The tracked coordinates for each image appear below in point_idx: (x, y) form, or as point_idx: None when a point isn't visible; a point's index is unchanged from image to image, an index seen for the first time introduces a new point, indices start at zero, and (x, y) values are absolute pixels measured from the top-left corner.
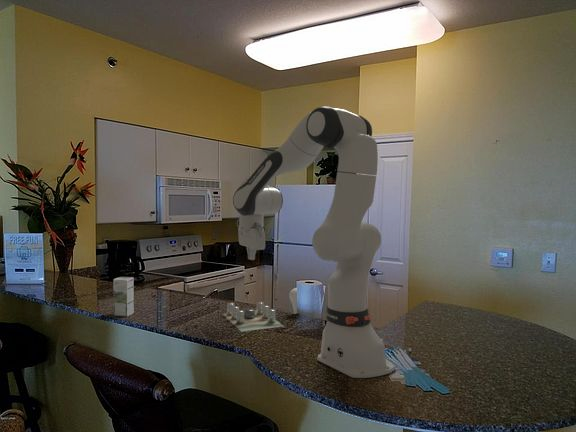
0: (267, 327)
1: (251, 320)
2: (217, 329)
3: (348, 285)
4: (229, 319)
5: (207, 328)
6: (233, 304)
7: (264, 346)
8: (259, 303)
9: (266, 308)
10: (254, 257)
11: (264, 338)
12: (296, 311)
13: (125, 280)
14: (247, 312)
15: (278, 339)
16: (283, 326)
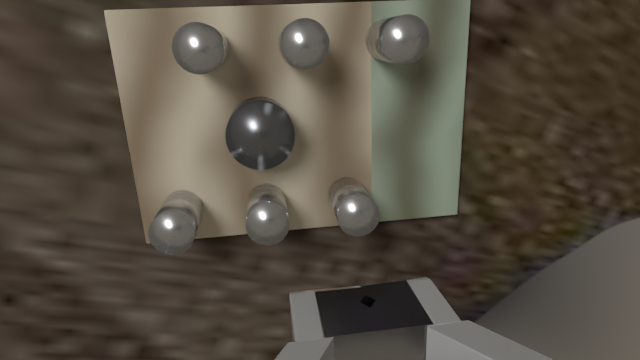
0: (453, 89)
1: (315, 130)
2: (358, 285)
3: None
4: None
5: None
6: (188, 219)
7: (616, 162)
8: (219, 60)
9: (327, 47)
10: (442, 302)
11: (542, 136)
12: None
13: None
14: (289, 152)
15: (580, 86)
16: (469, 4)
